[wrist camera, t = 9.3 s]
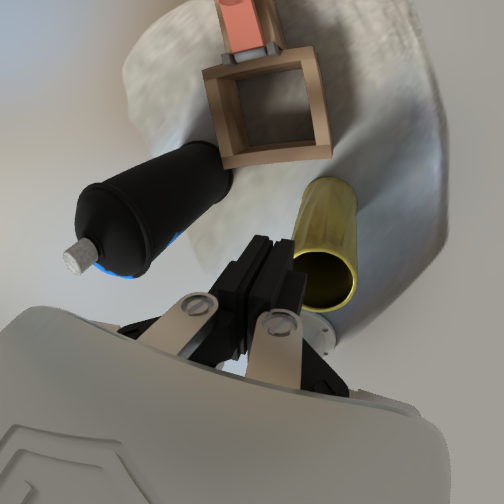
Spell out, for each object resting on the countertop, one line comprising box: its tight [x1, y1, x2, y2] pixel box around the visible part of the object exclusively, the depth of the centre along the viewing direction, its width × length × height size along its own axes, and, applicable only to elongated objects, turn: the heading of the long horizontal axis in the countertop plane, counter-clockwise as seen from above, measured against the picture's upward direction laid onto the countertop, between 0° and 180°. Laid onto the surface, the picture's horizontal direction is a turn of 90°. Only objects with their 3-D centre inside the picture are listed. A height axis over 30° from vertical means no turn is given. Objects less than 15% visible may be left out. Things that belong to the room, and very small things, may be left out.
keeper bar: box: [217, 0, 267, 63], centre depth 16 cm, size 8×3×1 cm, turn 12°
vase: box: [291, 177, 358, 313], centre depth 23 cm, size 6×6×14 cm
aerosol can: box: [63, 141, 232, 279], centre depth 23 cm, size 8×8×20 cm
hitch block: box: [202, 0, 333, 169], centre depth 20 cm, size 18×10×7 cm, turn 12°
